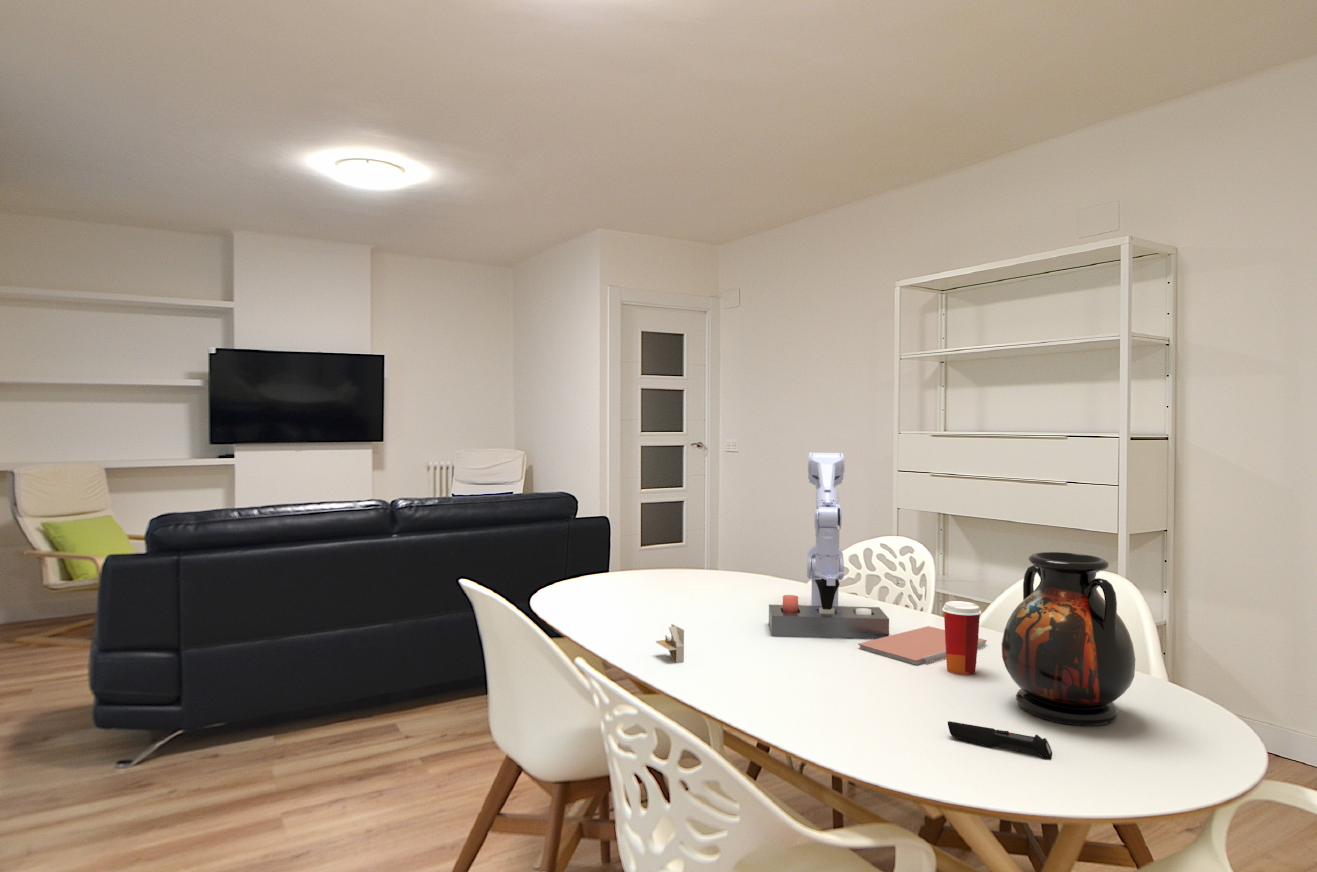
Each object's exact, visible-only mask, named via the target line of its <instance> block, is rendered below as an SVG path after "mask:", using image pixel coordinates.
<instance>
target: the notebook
mask: <svg viewBox="0 0 1317 872" xmlns="http://www.w3.org/2000/svg"><path fill="white" fill-rule="evenodd" d="M987 641H988V640H987V639H983V638H979V637H978V648H977V651H978V650H979V651H980V650H981V649H985V647H986V645H987V644H986V642H987ZM857 645H858V646H859V649H860V650H864V651H867V652H871V653H874V654H878V655H882V656H885V657H888V658H891V659H896V660H898V661H903V662H905V663H909V664H912V665H915V666H920V665H923V664H926V665H930V664H934V663H937V662H940V661H941V662H942V661H944V660H945V661H946V644H945V629H942V628H938V627H934V626H930V625H928V626H923V627H919V628H916V629H912V630H908V631H903V632H900V633H895V634H892V635H889V636H887V637H883V638H879V639H870V640H868V641H867V640H866V641H864V642H863V641H862V642H859V643H857Z"/></svg>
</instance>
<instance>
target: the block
mask: <svg viewBox="0 0 1317 872" xmlns="http://www.w3.org/2000/svg"><path fill="white" fill-rule="evenodd" d="M820 607H822V606H811V605H805V604H803V605H800V604H798V613H784V612H783V604H768V627H769V631H770V632H769V633H770V635H771V637H782V638H783V637H785V638H786V637H787V638H817V639H818V638H819V639H820V638H821V639H823V638H825V639H857V640H875V639H879V638H883V637H887V636H890V617H888V615H886V613H885V612H884V610H882V608H880V607H879V606H842V605H838V606H832V608H834V609H835V614H822V613H819V608H820ZM857 608H868V609H871V615H861V614H856V609H857Z"/></svg>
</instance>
